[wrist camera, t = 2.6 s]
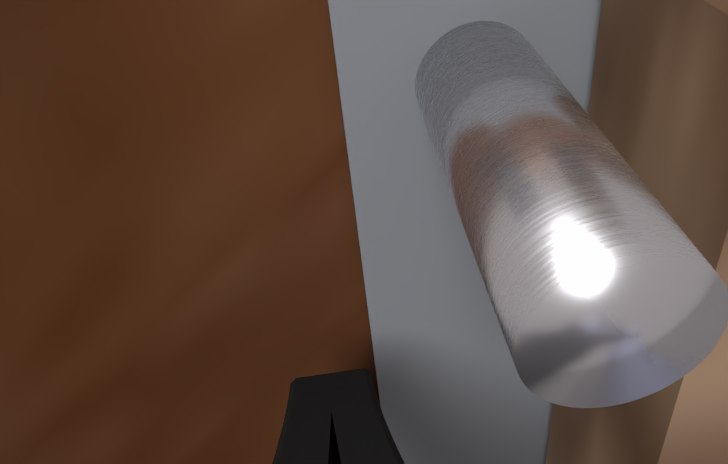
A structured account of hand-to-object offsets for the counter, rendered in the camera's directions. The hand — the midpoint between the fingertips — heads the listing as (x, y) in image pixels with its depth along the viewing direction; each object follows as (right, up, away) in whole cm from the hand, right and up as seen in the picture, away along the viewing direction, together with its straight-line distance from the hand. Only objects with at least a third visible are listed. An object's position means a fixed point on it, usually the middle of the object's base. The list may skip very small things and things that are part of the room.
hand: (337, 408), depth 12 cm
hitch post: (+2, +6, -1) cm, 6 cm away
